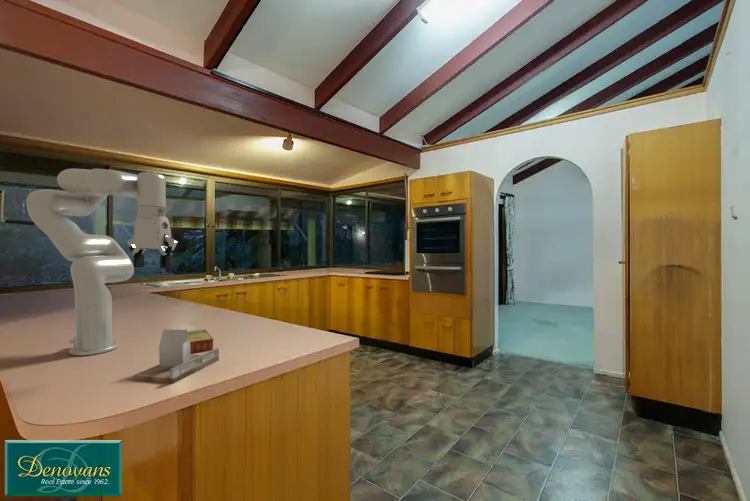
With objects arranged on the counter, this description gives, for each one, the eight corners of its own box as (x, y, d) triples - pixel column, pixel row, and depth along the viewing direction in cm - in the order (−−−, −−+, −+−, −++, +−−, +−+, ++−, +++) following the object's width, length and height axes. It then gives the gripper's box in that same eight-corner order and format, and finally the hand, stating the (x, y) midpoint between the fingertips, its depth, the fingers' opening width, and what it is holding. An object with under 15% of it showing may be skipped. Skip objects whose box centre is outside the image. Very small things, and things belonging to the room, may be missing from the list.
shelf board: (133, 379, 89) (133, 366, 89) (184, 357, 107) (184, 346, 107) (173, 383, 87) (173, 369, 87) (219, 360, 105) (219, 348, 104)
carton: (185, 355, 110) (185, 342, 110) (180, 343, 123) (180, 331, 123) (213, 350, 115) (213, 338, 115) (206, 339, 128) (205, 328, 128)
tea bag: (183, 366, 96) (182, 331, 95) (159, 366, 96) (159, 331, 96) (190, 362, 99) (190, 328, 99) (167, 361, 99) (167, 327, 99)
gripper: (184, 213, 108) (184, 267, 108) (139, 214, 112) (139, 266, 112) (165, 211, 101) (166, 269, 101) (117, 212, 104) (118, 268, 105)
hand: (152, 267), depth 106 cm, fingers open, 9 cm apart
